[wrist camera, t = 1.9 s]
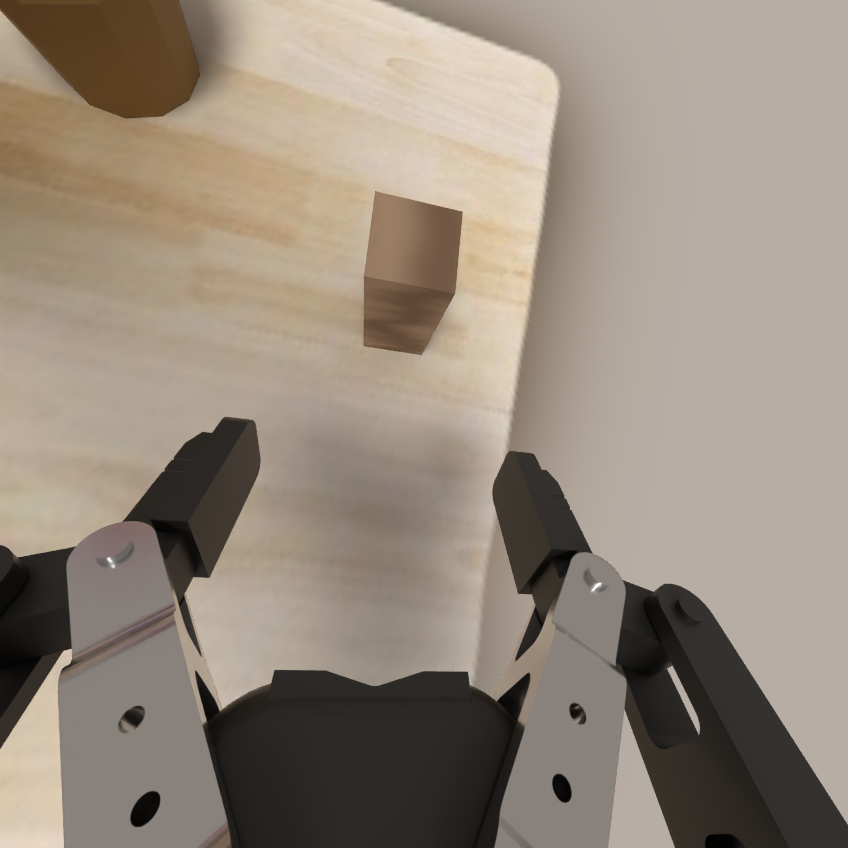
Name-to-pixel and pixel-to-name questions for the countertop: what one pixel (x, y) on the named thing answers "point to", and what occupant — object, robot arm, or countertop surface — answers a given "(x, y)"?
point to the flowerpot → (114, 50)
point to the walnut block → (408, 272)
